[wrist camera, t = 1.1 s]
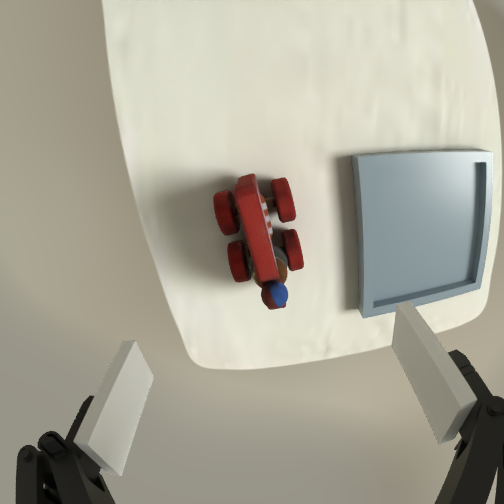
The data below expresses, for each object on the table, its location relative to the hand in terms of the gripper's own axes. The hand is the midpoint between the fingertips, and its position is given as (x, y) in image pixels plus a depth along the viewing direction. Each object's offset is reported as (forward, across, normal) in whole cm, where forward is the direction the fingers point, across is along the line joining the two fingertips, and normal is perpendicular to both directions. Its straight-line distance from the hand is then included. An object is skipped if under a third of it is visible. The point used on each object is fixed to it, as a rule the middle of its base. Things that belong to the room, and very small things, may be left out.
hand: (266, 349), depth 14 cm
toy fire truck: (+18, 0, 0) cm, 18 cm away
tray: (+18, +19, -3) cm, 26 cm away
